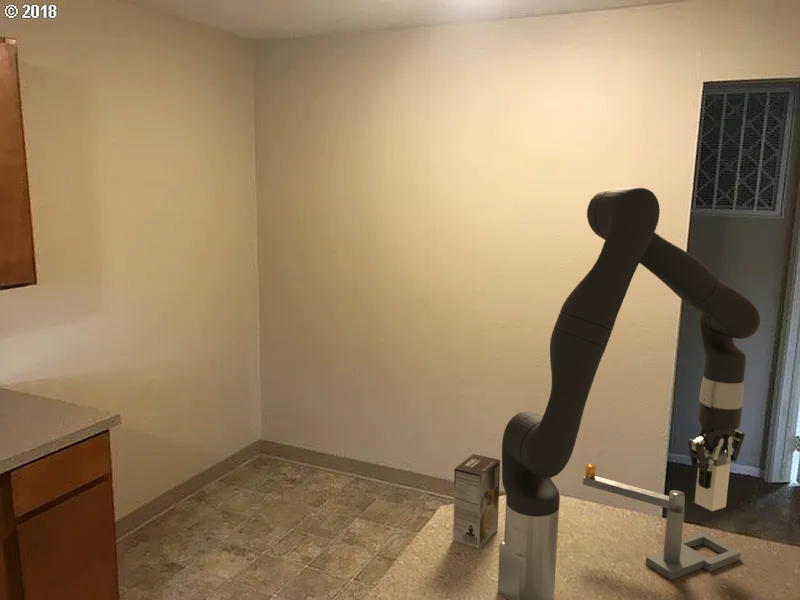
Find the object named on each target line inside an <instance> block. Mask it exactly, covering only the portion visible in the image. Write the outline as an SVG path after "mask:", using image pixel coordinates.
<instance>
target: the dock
mask: <svg viewBox="0 0 800 600" xmlns="http://www.w3.org/2000/svg"><path fill="white" fill-rule="evenodd" d="M684 518H685V510H684V511H682V512H675V511H672V510H670V509H668V508H666V519H665V520H666V521H665V531H664V532H665V533H664V541H663V550H662V551H658V552H656V553H653V554H651V555H647V556H645V565H647V566H648V567H650V568H652V569H653V570H655V571H656V572H658V573H659V574H661V575H662V576H664V577H666V578H667V579H669V580H674V579H676V578H680V577H681V576H685V575H687V574H691V573H692V572H695V571H698V570H700V569H705V570H707V571H708V572H712V571H714V570H717V569H719V568H723V567H724V566H727V565H729V564H732V563H735V562H737V561H740V560H741V556H742V552H741V551H739V550H737V549H736V548H733V547H732V546H730V545H727V544H726V543H724V542H722V541H720V540H718V539H716V538H714V537H712V536H710V535H709V534H707V533H705V532H703V531H700V532H697V533H695V534H692V535H688V536H685V537H683V529H684V520H685V519H684ZM699 544H700V545H705V546H706V547H708V548H710V549H712V550H714V551H715V552H717V553H719V554H717V555H715V556H711V557H708V556H706V555H704V554H703V553H701V552H698V551H697V550H695V549H693V546H694V547H697V546H700V545H699ZM696 545H697V546H696ZM690 547H691V548H690Z"/></svg>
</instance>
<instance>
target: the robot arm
mask: <svg viewBox="0 0 800 600" xmlns="http://www.w3.org/2000/svg"><path fill="white" fill-rule="evenodd" d="M660 209H661V208H660V204H659V200H658V198H657V196H656V195H655V193H654V192H653V191H651V190H650V189H648V188H646V187H645V188H644V187H641V186H640V187H636V186H635V187H633V186H632V187H631V186H629V187H615V188H614V187H613V188H608V189H603V190H601V191H599V192H597V193H595V195H594V196H593V197H592V198H591V199H590V201H589V204H588V206H587V209H586V210H587V211H586V218H587V222H588V224H589V227H590V229H591V230H592V231H593V233H594V234H595V235H597V237H599V238H601V239H603V240H604V242H603V245H602V248H601V251H600V253H599V255H598V257H597V259H596V262H594V264H593V266H592V268H591V269H590V270H589V272H587V273H586V275H585V276H584V277H583V279H582V280H581V281H579V283H578V284H577V285H576V286H575V287H574V288H573V290H572V291H571V292H570V293H569V295H568V296H567V297H566V299H565V301H564V302H563V304H562V306H561V308H560V311H559V314H558V316H557V319H556V321H555V324H554V326H553V329H552V333H551V336H550V342H549V361H550V362H549V363H550V370H551V371H550V372H551V390H550V394H549V397H548V401H547V404H546V409H545V411H544V414H543V415H541V414H538V413H536V412H534V411H530V410H529V411H521V412H518V413H516V414H515V415H513V417H512V418H511V419H510V420H509V421H508V422H507V424H506V426H505V428H504V431H503V434H502V435H503V436H502V440H501V441H502V442H501V479H502V480H501V481H502V486H503V489H504V492H505V516H504V517H505V518H504V519H505V520H504V539H503V540H504V541H502V542H499V546H498V547H499V552H498V554H499V555H498V571H497V572H498V574H497V575H498V576H497V577H498V578H497V591H498V592H499V593H500V594H501V595H502V596H503V597H505V599H507V600H554V599H555V598H554V597H555V587H556V569H557V553H558V551H557V549H558V537H559V534H558V532H559V519H560V518H559V516H560V503H561V502H560V501H561V500H560V492H559V489H558V487H557V486H556V485H555V483H554V482H553V480H552V478H554V477H555V476H558V475H559V474H560V473H561V472H563V470H564V469H565V468H566V466H567V464H568V463H569V461H570V459H571V456H572V455H573V451H574V449H575V445H576V442H577V438H578V434H579V430H580V425H581V423H582V419H583V414H584V412H585V411H584V410H585V407H586V404H587V400H588V398H589V395H590V391H591V388H592V386H593V383H594V380H595V377H596V375H597V371H598V369H599V365H600V364H601V360H602V358H603V356H604V353H605V351H606V348H607V347H608V343H609V342H610V341H609V340H610V337H611V336H612V332H613V330H614V327H615V324H616V320H617V318H618V315H619V312H620V309H621V307H622V304H623V302H624V299H625V297H626V294H627V292H628V289H629V287H630V284H631V282H632V279H633V277H634V275H635V273H636V271H637V268H638V266H639V265H641V266H643V267H644V268H645V269H647V270H648V271H649V273H651V274H653V275H654V276H655V277H656V278H658V279H659V280H660V281H661V282H662V283H664V284H665V285H666V286H667V288H669V289H670V290H671V291H672V292H673V293H674V294H675V295H676V296H678V297H679V299H681V300H682V301H683V302H684V303H685V304H686V305H688V307H690V308H692V309H693V310H695V311H697V312H700V315H699V326H700V332H701V340H702V345H703V350H704V354H705V356H704V357H705V358H704V364H703V372H702V373H703V374H702V375H703V376H702V381H701V384H700V391H699V402H698V412H697V422H698V423H699V424H700V425H701V429H700V432H699V435H698V437H696V438H695V439H692V438H690V439H688V441H687V443H688V451H689V457H690V463H691V466H693V467H696V468H697V469H698V468H699V479H698V483H699V485H700V486H701V487H703V488H705V489H708V488H710V486H711V477H712V471H711V470H712V468H713V464H714V461H715V460H717V459H718V455H719V452H725V453H727V463H730V466H731V464H732V462H735V463H736V461H737V460H738V457H739V454H740V452H741V449H742V445H743V442H744V439H745V435H746V434H745V432H742V431H740V430H738V429H739V428H740V427H741V421H742V415H743V404H744V392H745V390H744V389H745V388H744V381H745V373H746V372H745V370H746V362H747V361H746V358H747V357H746V354H745V353H744V351H743V350H741V349H739V347H737V346H736V345H735V343H734V339H739V340H741V339H743V340H744V339H748V338H750V337H752V336H753V335H754V334H756V333H757V331H758V330H759V328H760V323H761V317H760V312H759V310H758V309H757V307H756V305H754V304H753V303H752V302H751V301H750V300H749V299H748V298H746V297H745V296H744V295H742V294H741V293H739V292H738V291H736V290H735V289H733V288H731V287H730V286H728V285H726V284H725V283H723V282H722V281H721V280H720V279H719V278H718V277H717V276H716V275H715V274H714V273H713V272H712V271H711V270H710V269H709V268H707V266H706V265H704V264H703V263H702V262H701V261H700V260H699V259H698V258H696V257H695V256H694V255H692V254H690V253H689V252H688V251H685V250H683V249H682V248H680V247H679V246H677V245H675V244H673V243H672V242H670V241H668V240H666V238H664V237H662V236H661V235H660V234H658V233H656V229H657V226H658V225H659V219H660V212H661V210H660ZM705 450H706V451H709V452H711V453H712V455H711V454H709V453H707V452H706V451H705ZM705 458H708V463H707V464H706V460H705Z"/></svg>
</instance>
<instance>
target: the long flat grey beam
mask: <svg viewBox="0 0 800 600" xmlns="http://www.w3.org/2000/svg"><path fill="white" fill-rule="evenodd" d="M596 467H597V466H596V465H595V464H593V463H586V464H585V469H584V476H583V477H582V478H583V479H582V480H583V481H582V485H584V486H588V487H591V488H593V489H597V490H601V491H604V492H608V493H612V494H616V495H619V496H623V497H626V498H629V499H633V500H637V501H640V502H644V503H647V504H651V505H654V506H658V507H662V508H664V509H667V508H668V509H670V510H672V511H675V512H682V511H684V512H685V502H686V494H685V493H684V492H683V491H680V490H676V489H675V490H674V489H673V490H670V491H669V494H667V495H666V494H663V493H659V492H655V491H652V490H648V489H644V488H641V487H637V486H635V485H629V484H625V483H622V482H618V481H615V480H611V479H607V478H603V477H601V476H597V475H596V471H597V469H596Z"/></svg>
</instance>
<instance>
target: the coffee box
mask: <svg viewBox="0 0 800 600" xmlns="http://www.w3.org/2000/svg"><path fill="white" fill-rule="evenodd" d="M500 466H501V459H499V458H493V457H489V456H485V455H481V454H475V453H473V454H472V455H470V456H469V457H468V458H466V459H465V460H463V462H461V463H459V464H458V465H457V466H456V467H455V468H454V475H453V477H454V478H453V481H454V484H453V485H454V486H453V532H452V533H453V535H452V541H454V542H457V543H460V544H464V545H467V546H470V547H473V548H477V549H479V550H480V549H481V548H482V547H483V546H484V545H485V544H486V543H487V542H488V541H489V540H490V539H491V538H492V537H493V535H494V534H495V533H496V532H497V531H498V529H499V507H500V506H499V503H500V502H499V500H500V479H501V478H500V472H501V469H500V468H501V467H500Z"/></svg>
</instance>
